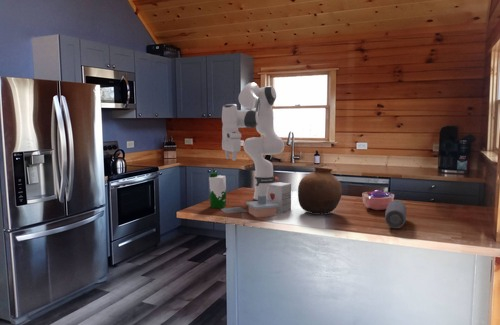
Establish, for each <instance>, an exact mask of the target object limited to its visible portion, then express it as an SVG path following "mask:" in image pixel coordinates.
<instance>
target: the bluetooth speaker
mask: <svg viewBox="0 0 500 325" xmlns="http://www.w3.org/2000/svg"><path fill="white" fill-rule="evenodd" d="M384 213H385V215H384V218H385V222H386V224H387V225H388V226H389V227H390V228H393V229H399V228H402V227H403V226H404V224H406V221H407V214H408V213H407V207H406V205H405V203H404V202H403V201H401V200H399V199H395V200H394V199H393V201H392V202H390V203H389V204H388V206H387V209H385V212H384Z"/></svg>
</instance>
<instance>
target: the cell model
mask: <svg viewBox="0 0 500 325" xmlns="http://www.w3.org/2000/svg"><path fill="white" fill-rule="evenodd" d="M361 196H362V202H363V204H364V205H365V207H367V208H369V209H372V210H374V211H384V210H386V209H387V206H388V204H389V203H390V202H392V201H394V198H395V194H394V193H392V192H388V191H385V190H384V189H382V190H381V189H376V190H373V191H365V192H362V195H361Z"/></svg>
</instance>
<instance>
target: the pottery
mask: <svg viewBox="0 0 500 325" xmlns="http://www.w3.org/2000/svg"><path fill="white" fill-rule="evenodd" d="M313 168H314V171H312V172H310V173H308V174H307V175H305V176H303V177H302V178H301V180H300V182H299V184H298V188H297V197H298V198H297V200H298V204H299V206H300V207H301V209H302V210H303V211H305V212H307V213H309V214H315V215H327V214H329V213H331V212H333V211H334V210H335V209H336V208H337V207H338V205H339V203H340V200H341V198H342V194H343V187H342V184H341V182H340V180H339V179H338V178H337V177H336V176H334V174H332V172H333V170H334V169H332V168H327V167H326V168H325V167H317V166H314V167H313Z"/></svg>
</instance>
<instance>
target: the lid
mask: <svg viewBox="0 0 500 325" xmlns="http://www.w3.org/2000/svg"><path fill="white" fill-rule="evenodd" d="M245 203H246V204H245V205H247V206H248V207H249V206H250V207H252V208H254V209H263V208H273V207H279V205H278V204H276V203H274V202H272V201H270V200H266V196H265V195H259V196H258V200H253V201H252V200H251V201H246V202H245Z"/></svg>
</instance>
